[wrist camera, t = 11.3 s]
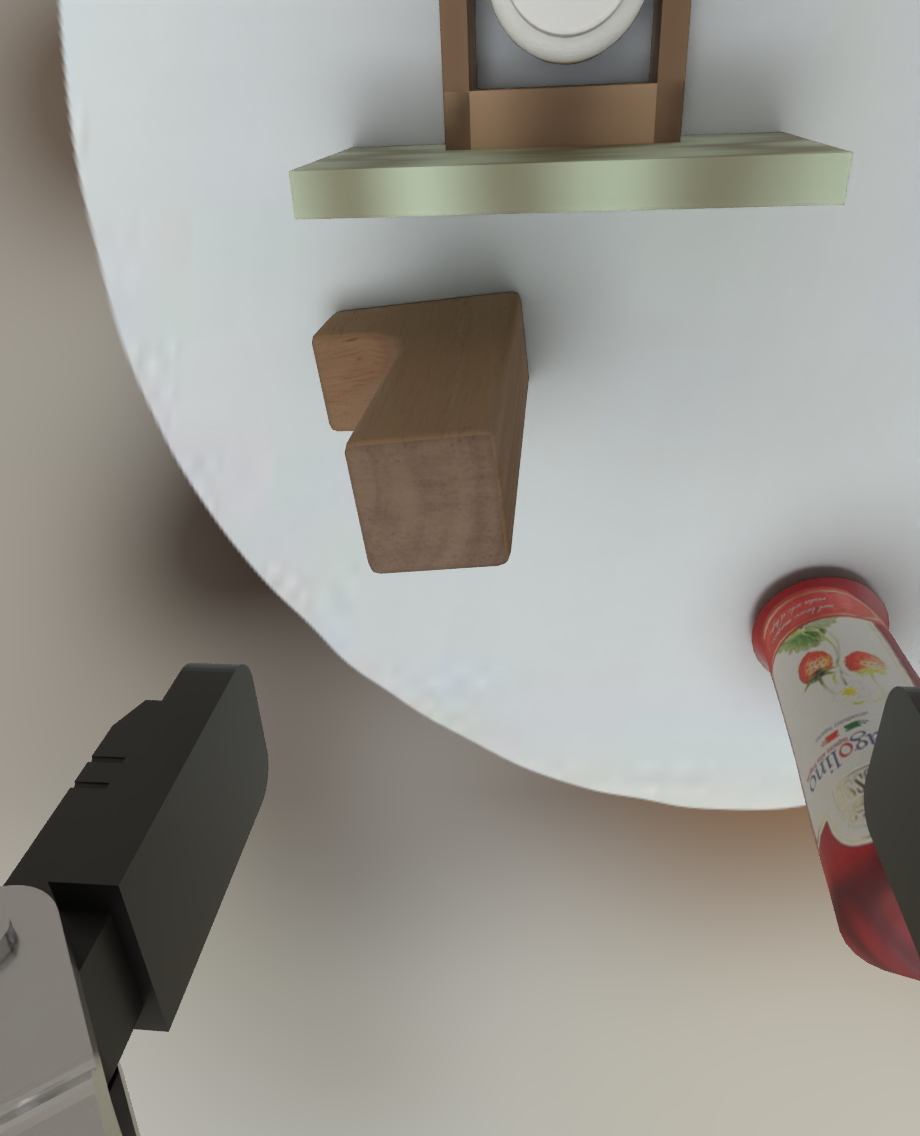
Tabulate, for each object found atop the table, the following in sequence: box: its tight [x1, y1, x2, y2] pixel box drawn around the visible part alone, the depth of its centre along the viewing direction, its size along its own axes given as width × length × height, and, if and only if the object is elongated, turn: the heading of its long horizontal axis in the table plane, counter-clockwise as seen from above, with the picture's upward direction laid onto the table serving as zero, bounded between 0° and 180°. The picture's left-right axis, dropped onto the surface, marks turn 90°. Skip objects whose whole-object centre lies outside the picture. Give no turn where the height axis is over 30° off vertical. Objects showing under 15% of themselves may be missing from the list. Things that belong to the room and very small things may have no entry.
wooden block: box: [312, 292, 529, 574], centre depth 34 cm, size 9×4×18 cm, turn 98°
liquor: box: [752, 577, 920, 981], centre depth 35 cm, size 7×7×28 cm
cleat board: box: [289, 0, 853, 219], centre depth 30 cm, size 18×12×10 cm, turn 93°
